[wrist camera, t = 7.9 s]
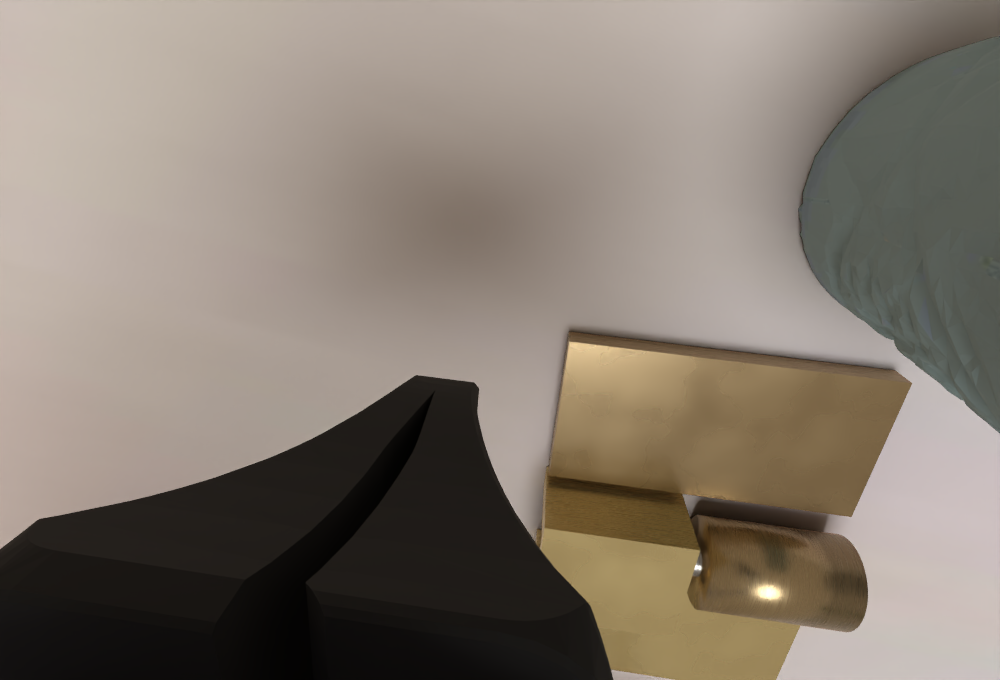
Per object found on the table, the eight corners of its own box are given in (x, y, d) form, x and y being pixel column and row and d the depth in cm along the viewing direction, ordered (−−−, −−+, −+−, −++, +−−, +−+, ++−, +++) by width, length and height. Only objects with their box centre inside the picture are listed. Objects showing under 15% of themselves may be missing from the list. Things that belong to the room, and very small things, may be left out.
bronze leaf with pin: (537, 539, 24) (533, 606, 21) (568, 331, 20) (570, 373, 17) (805, 578, 23) (845, 653, 20) (895, 370, 19) (964, 422, 16)
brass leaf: (521, 636, 27) (515, 712, 23) (546, 466, 23) (544, 528, 19) (761, 673, 26) (792, 757, 23) (834, 505, 22) (885, 577, 18)
